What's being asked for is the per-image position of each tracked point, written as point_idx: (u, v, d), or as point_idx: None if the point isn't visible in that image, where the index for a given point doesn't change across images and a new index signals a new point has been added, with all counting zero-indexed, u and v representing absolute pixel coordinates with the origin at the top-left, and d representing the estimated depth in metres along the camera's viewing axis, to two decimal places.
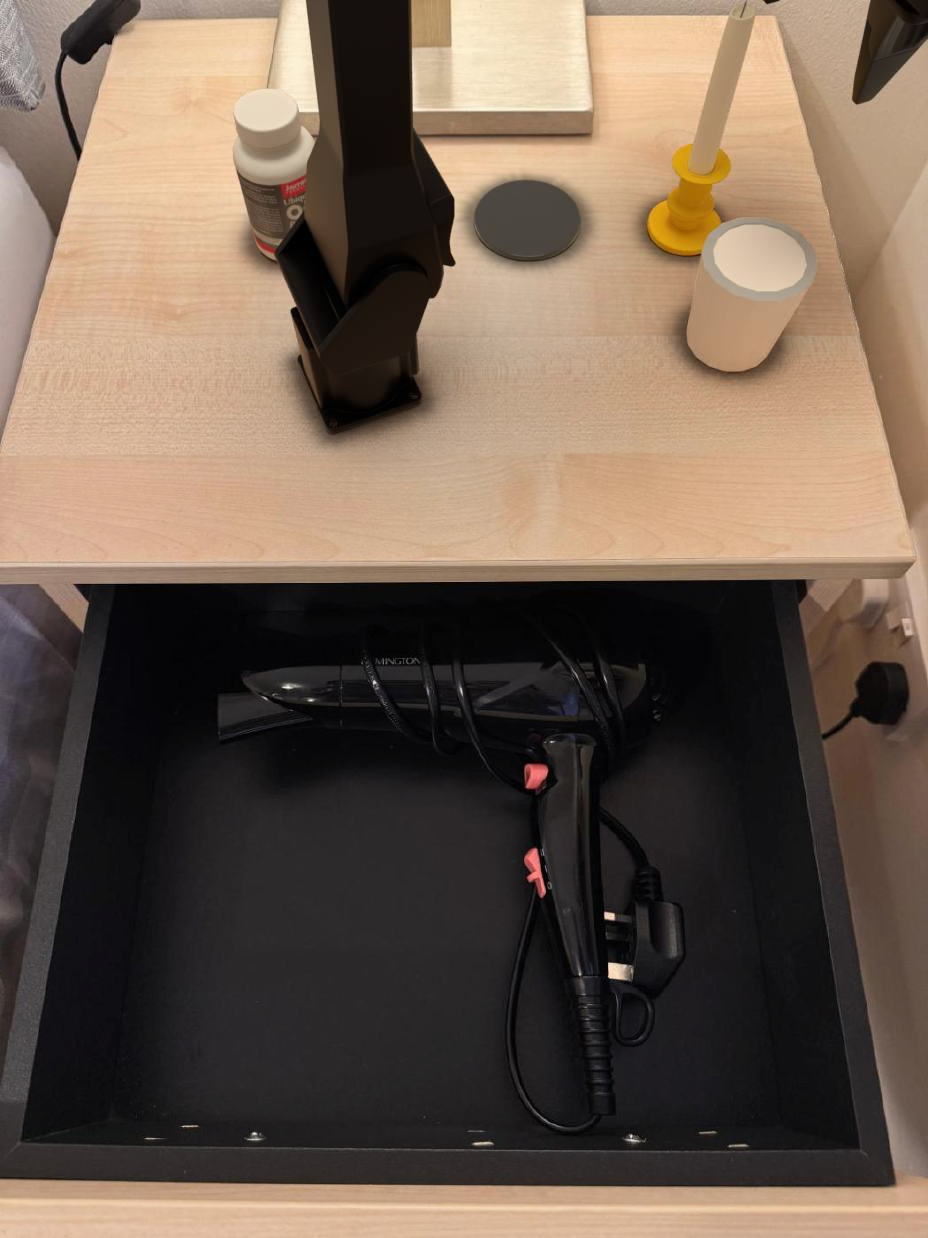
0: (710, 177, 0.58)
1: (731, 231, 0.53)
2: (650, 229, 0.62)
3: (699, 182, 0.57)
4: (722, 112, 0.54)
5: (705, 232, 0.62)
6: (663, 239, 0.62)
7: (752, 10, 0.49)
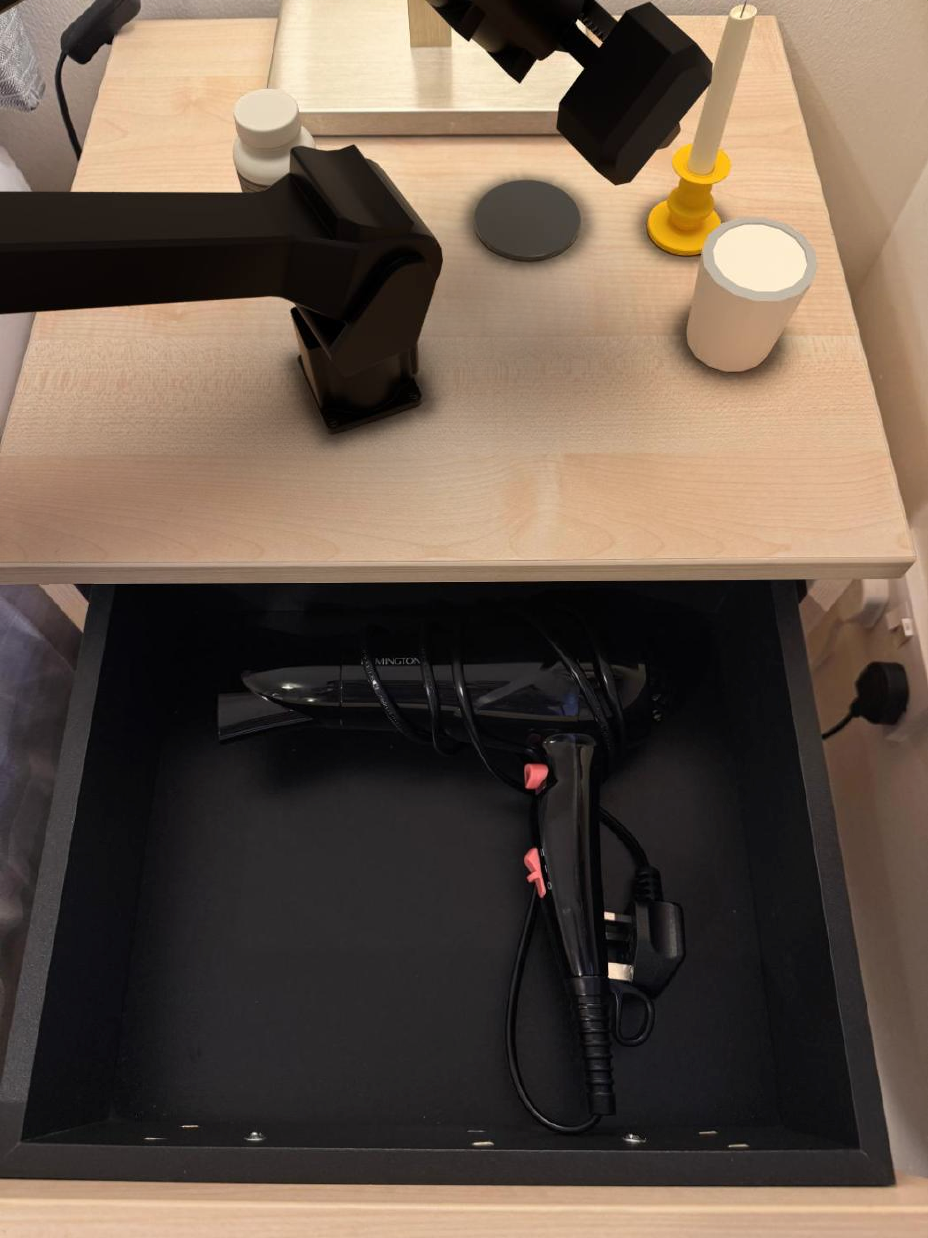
0: (710, 177, 0.58)
1: (731, 231, 0.53)
2: (650, 229, 0.62)
3: (699, 182, 0.57)
4: (722, 112, 0.54)
5: (705, 232, 0.62)
6: (663, 239, 0.62)
7: (751, 10, 0.49)
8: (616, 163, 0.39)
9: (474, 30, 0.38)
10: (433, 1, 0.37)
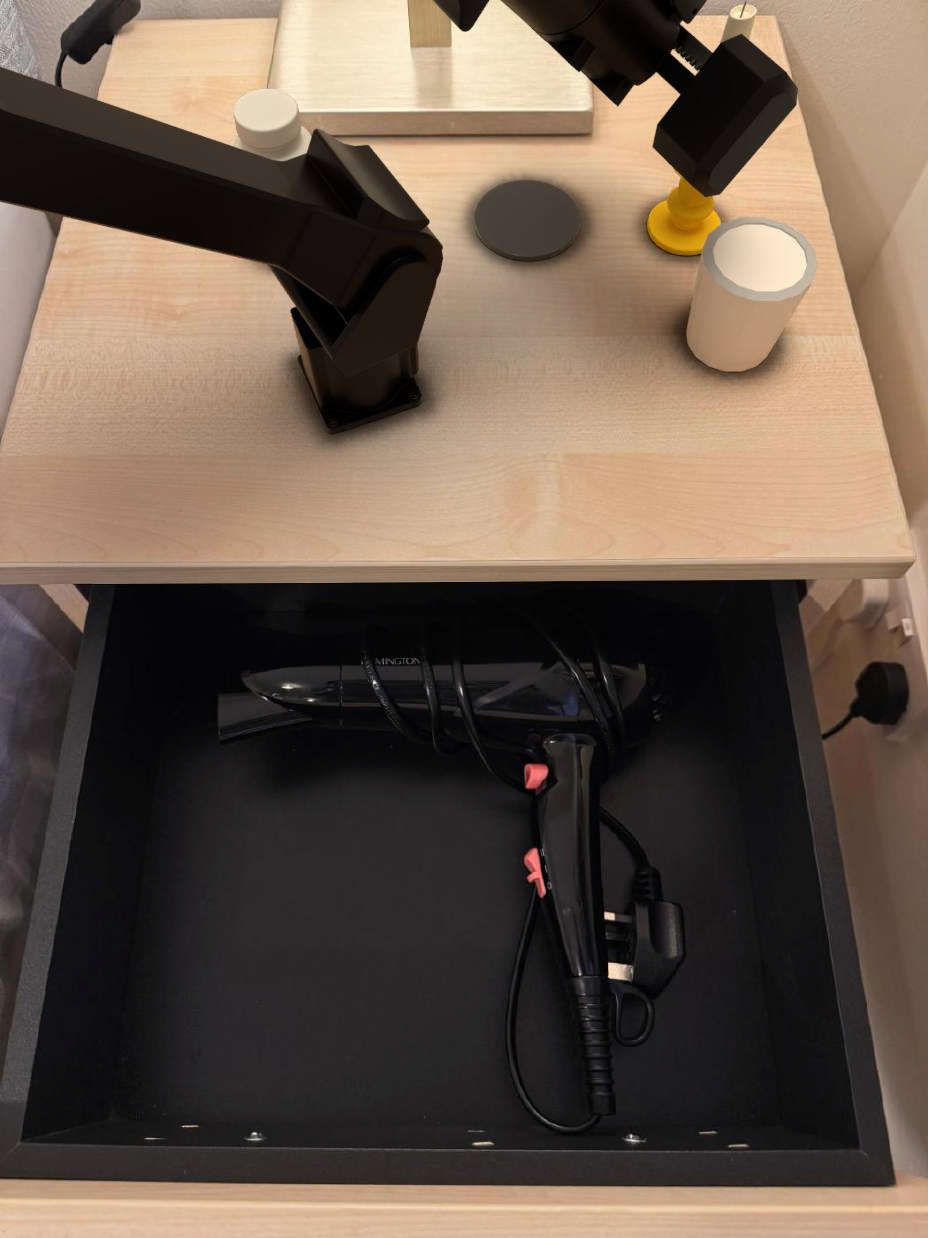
0: None
1: (731, 231, 0.53)
2: (650, 229, 0.62)
3: None
4: None
5: (705, 232, 0.62)
6: (663, 239, 0.62)
7: (751, 10, 0.49)
8: (709, 178, 0.44)
9: (584, 62, 0.43)
10: (549, 37, 0.42)
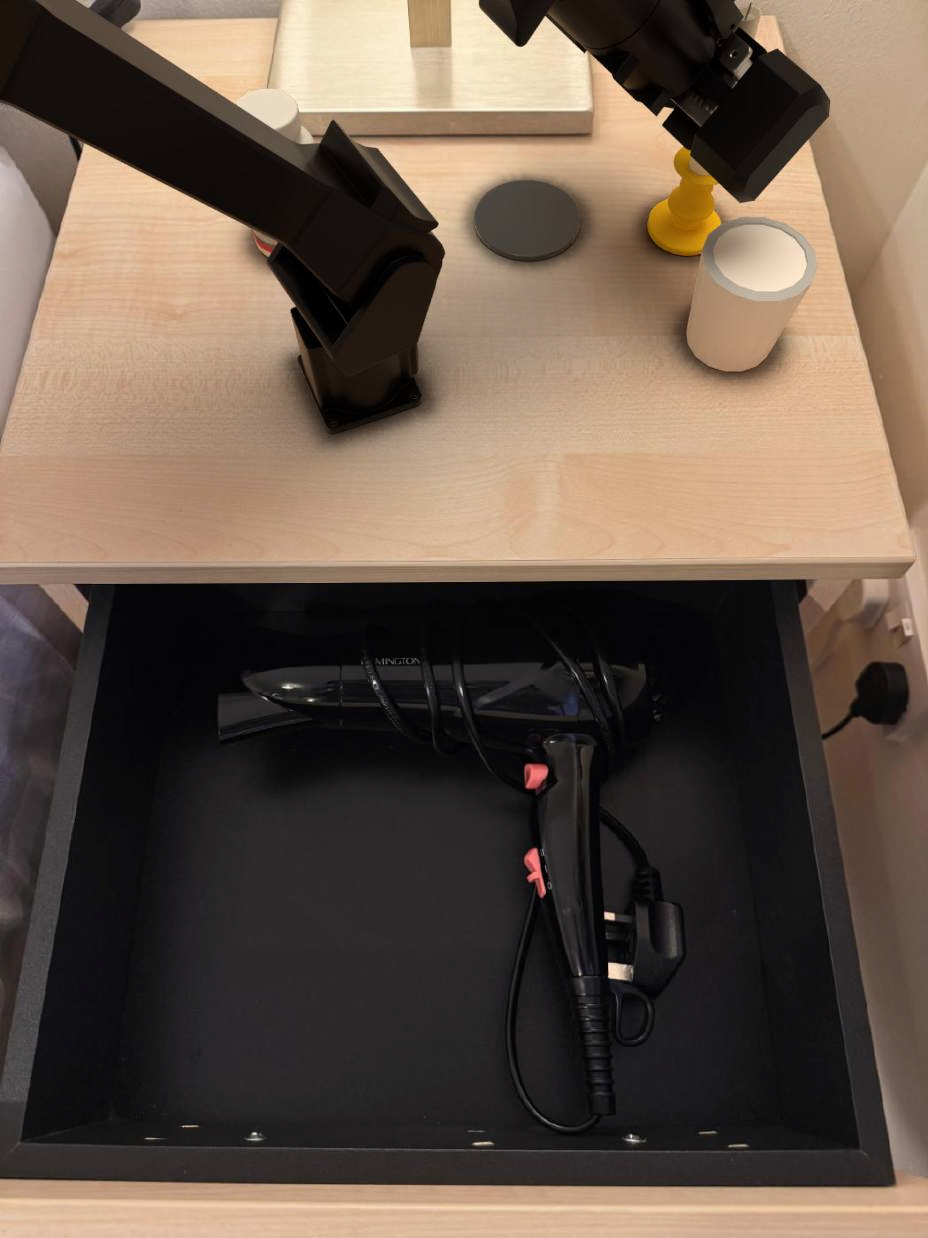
0: (712, 178, 0.57)
1: (731, 231, 0.53)
2: (650, 229, 0.62)
3: (701, 183, 0.57)
4: None
5: (705, 232, 0.62)
6: (663, 239, 0.62)
7: (756, 12, 0.49)
8: (746, 185, 0.46)
9: (628, 74, 0.45)
10: (596, 51, 0.44)
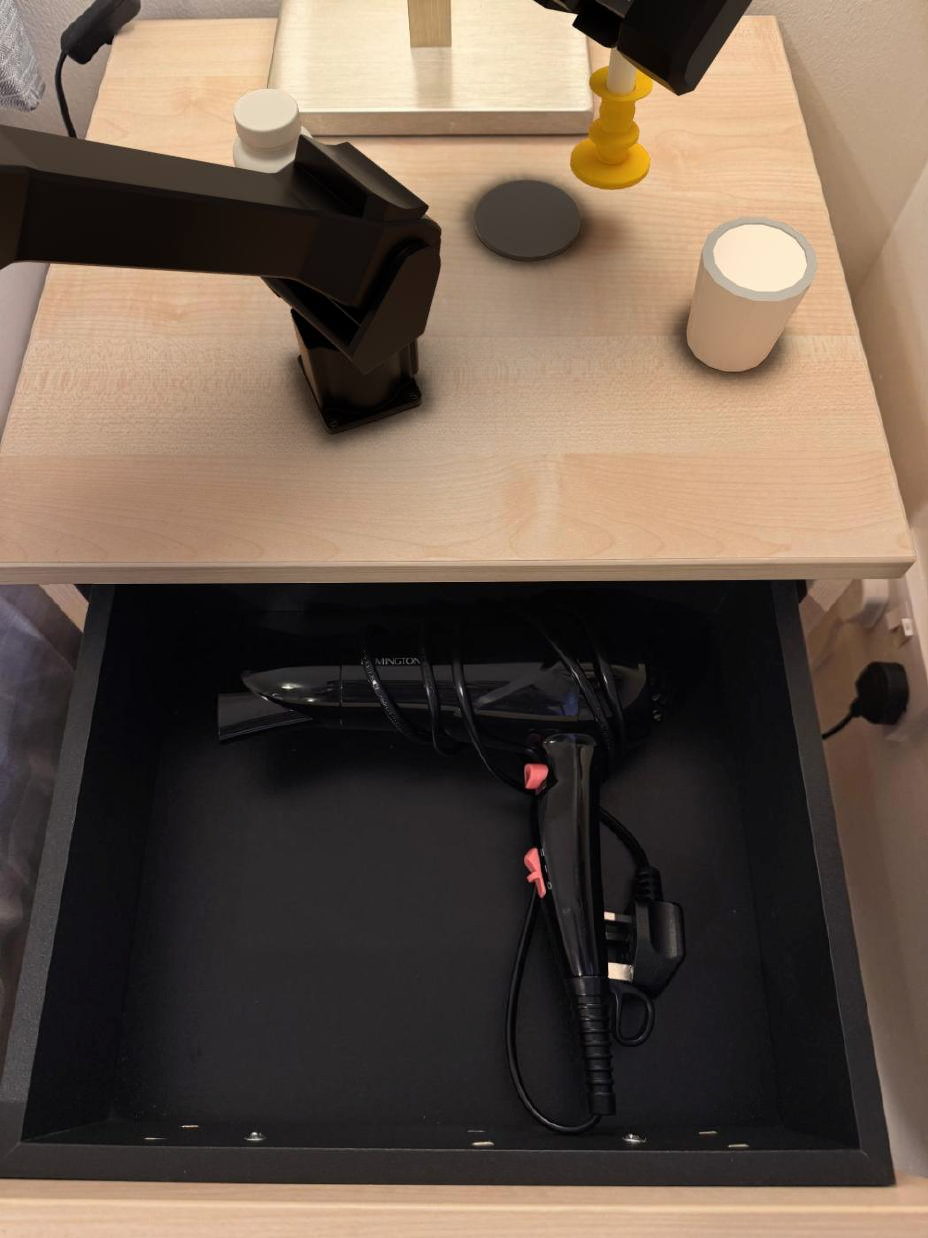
0: (632, 95, 0.53)
1: (731, 231, 0.53)
2: (574, 166, 0.57)
3: (621, 100, 0.52)
4: None
5: (633, 164, 0.57)
6: (589, 174, 0.57)
7: None
8: (686, 70, 0.42)
9: None
10: None
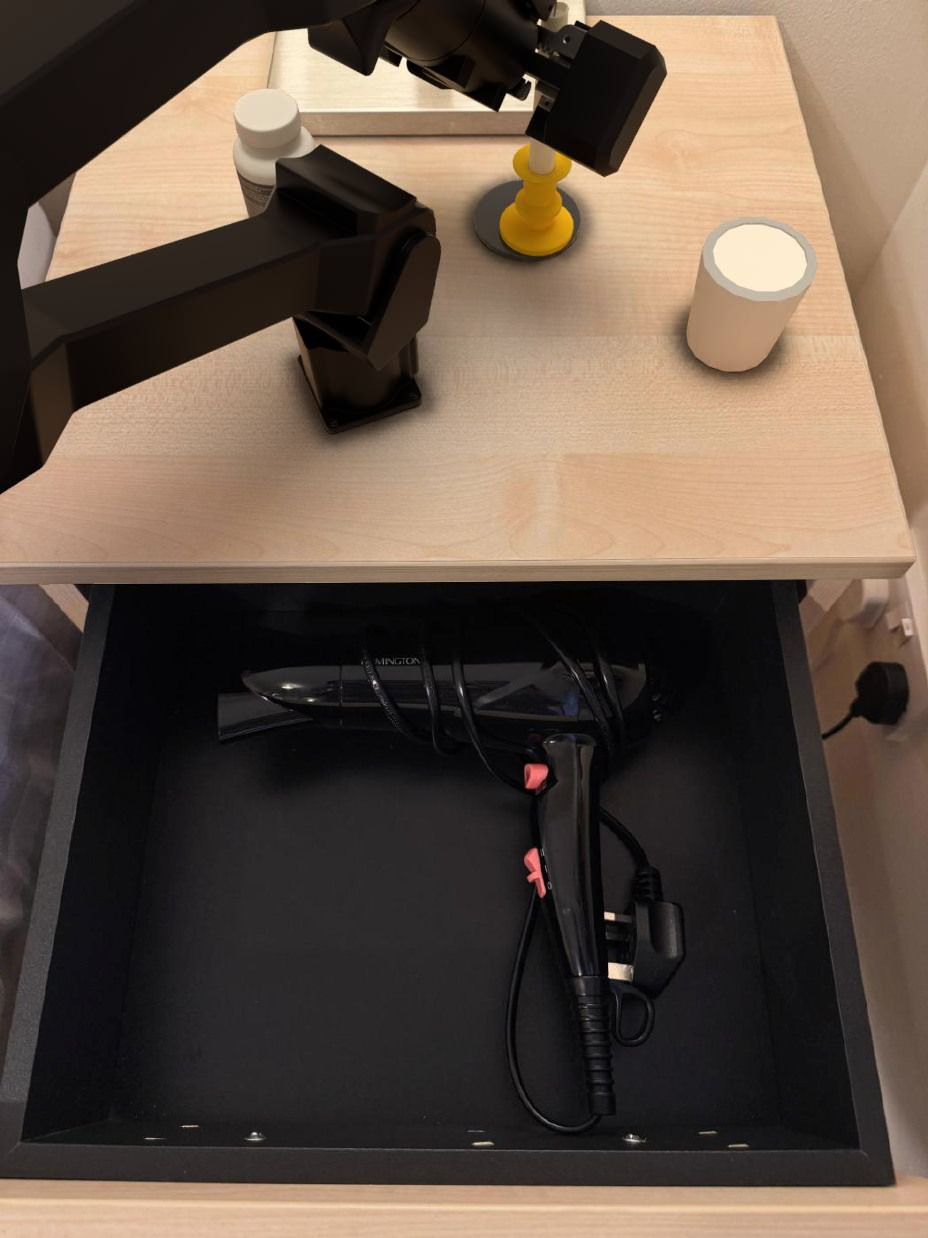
0: (554, 175, 0.57)
1: (731, 231, 0.53)
2: (504, 236, 0.61)
3: (545, 182, 0.57)
4: None
5: (558, 228, 0.61)
6: (520, 243, 0.61)
7: (563, 6, 0.49)
8: (610, 158, 0.46)
9: (468, 78, 0.44)
10: (432, 63, 0.43)
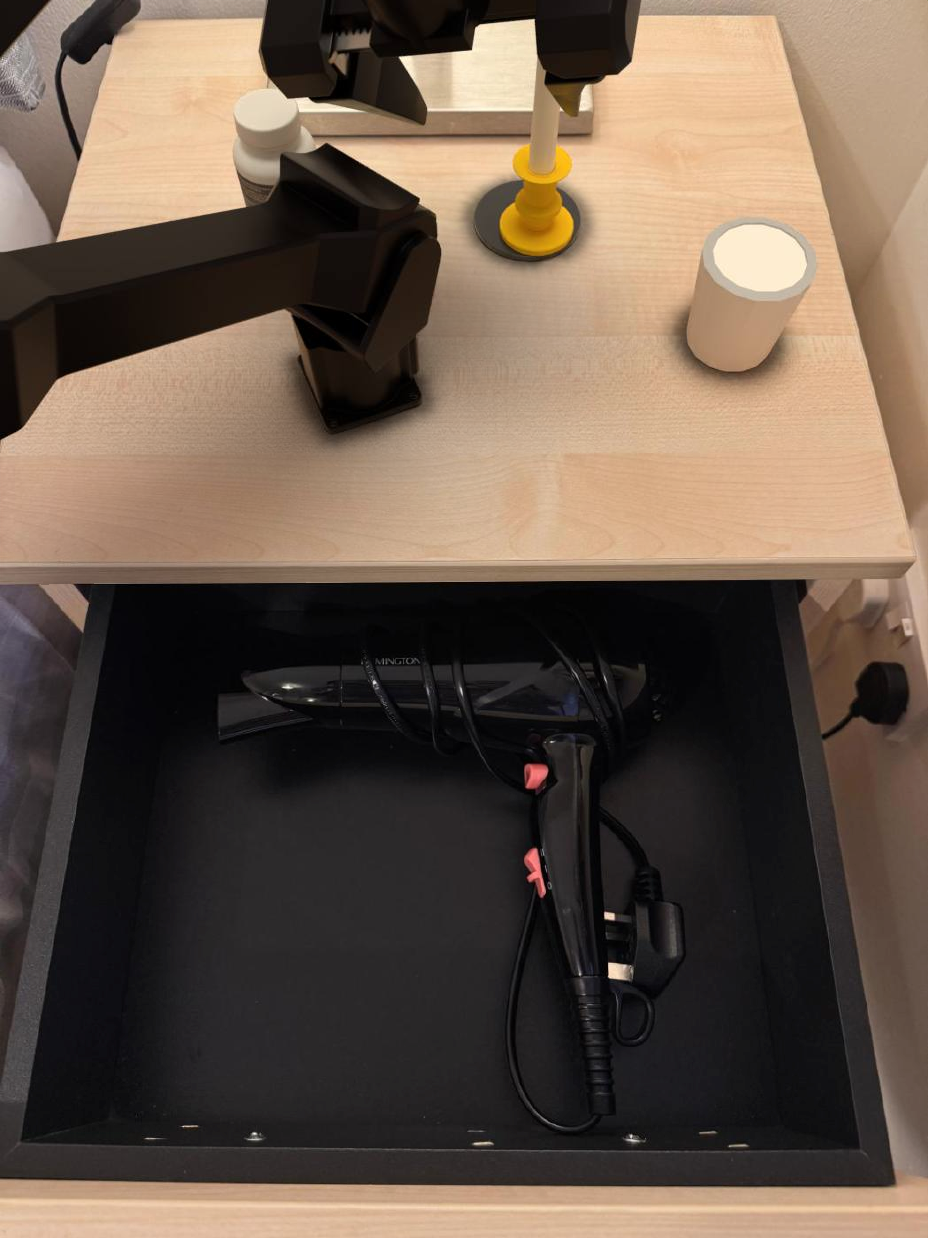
0: (554, 175, 0.57)
1: (731, 231, 0.53)
2: (504, 236, 0.61)
3: (545, 182, 0.57)
4: (554, 110, 0.53)
5: (558, 228, 0.61)
6: (520, 243, 0.61)
7: None
8: (625, 28, 0.38)
9: None
10: None
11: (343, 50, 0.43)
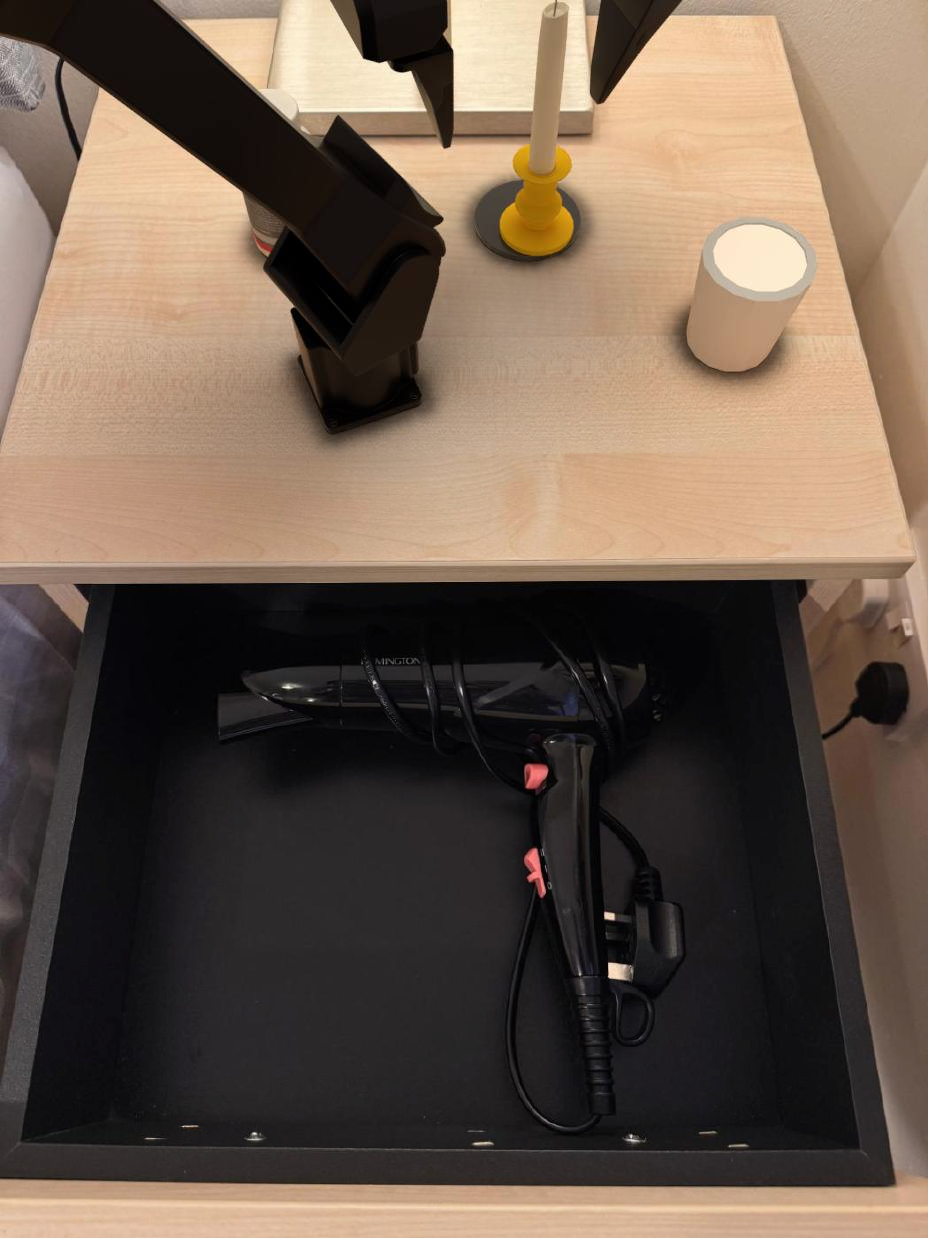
0: (554, 175, 0.57)
1: (731, 231, 0.53)
2: (504, 236, 0.61)
3: (545, 182, 0.57)
4: (554, 110, 0.53)
5: (558, 228, 0.61)
6: (520, 243, 0.61)
7: (563, 6, 0.49)
8: None
9: None
10: None
11: None
